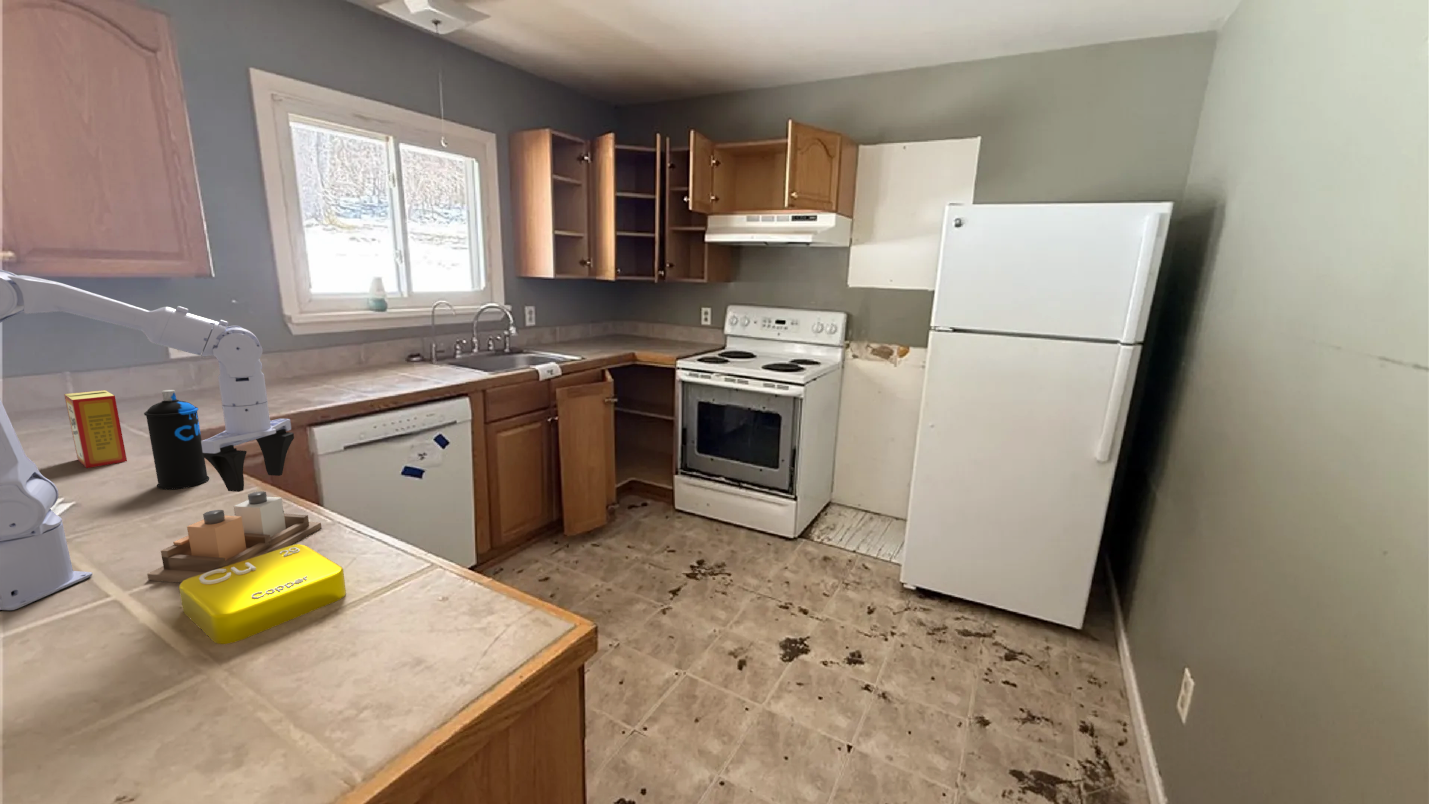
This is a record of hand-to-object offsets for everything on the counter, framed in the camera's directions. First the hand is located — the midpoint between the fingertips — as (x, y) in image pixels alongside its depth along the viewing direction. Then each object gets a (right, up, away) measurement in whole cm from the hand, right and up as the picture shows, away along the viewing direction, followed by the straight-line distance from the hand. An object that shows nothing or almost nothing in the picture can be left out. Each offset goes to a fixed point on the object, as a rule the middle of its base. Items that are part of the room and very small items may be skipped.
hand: (256, 482), depth 95 cm
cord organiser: (-1, -11, -2) cm, 11 cm away
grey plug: (0, -9, +2) cm, 9 cm away
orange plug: (-1, -11, -6) cm, 12 cm away
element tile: (+14, -15, -15) cm, 25 cm away
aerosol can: (-37, -4, +26) cm, 45 cm away
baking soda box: (-67, 0, +38) cm, 77 cm away
